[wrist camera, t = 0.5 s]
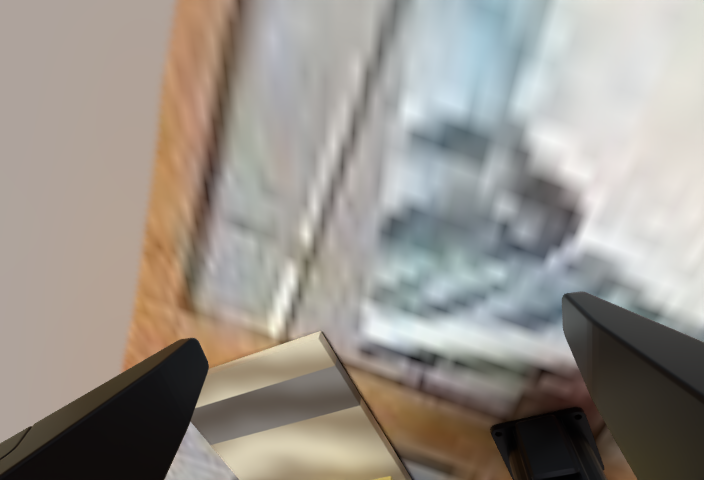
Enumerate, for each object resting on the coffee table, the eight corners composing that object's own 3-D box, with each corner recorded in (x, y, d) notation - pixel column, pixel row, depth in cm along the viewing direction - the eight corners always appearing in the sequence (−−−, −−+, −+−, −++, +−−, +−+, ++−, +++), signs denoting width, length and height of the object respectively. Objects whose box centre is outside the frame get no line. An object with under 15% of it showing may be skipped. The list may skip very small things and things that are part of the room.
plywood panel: (429, 507, 33) (429, 517, 32) (292, 530, 37) (290, 540, 36) (320, 330, 26) (318, 338, 26) (169, 382, 30) (163, 389, 30)
